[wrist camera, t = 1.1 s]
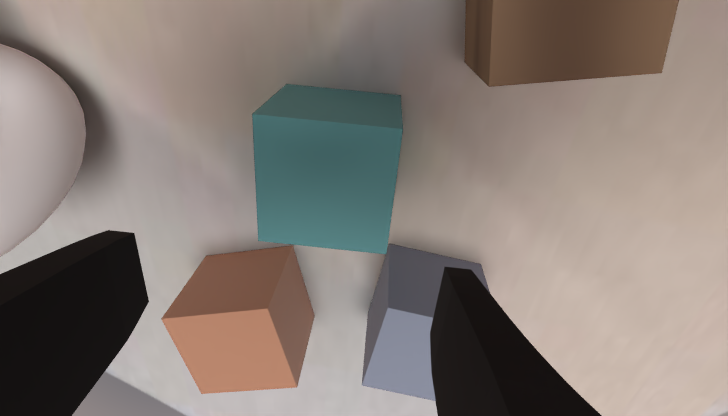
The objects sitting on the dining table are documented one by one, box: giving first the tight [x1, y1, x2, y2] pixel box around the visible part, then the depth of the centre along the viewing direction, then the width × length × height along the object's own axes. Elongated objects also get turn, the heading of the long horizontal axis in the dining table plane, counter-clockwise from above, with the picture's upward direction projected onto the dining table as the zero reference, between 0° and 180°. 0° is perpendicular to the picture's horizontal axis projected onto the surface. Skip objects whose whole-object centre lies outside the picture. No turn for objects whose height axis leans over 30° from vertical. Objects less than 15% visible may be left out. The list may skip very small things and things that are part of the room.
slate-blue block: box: [362, 244, 490, 401], centre depth 20 cm, size 5×5×5 cm
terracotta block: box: [162, 246, 314, 394], centre depth 21 cm, size 5×5×5 cm
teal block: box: [252, 84, 403, 254], centre depth 17 cm, size 5×5×5 cm
